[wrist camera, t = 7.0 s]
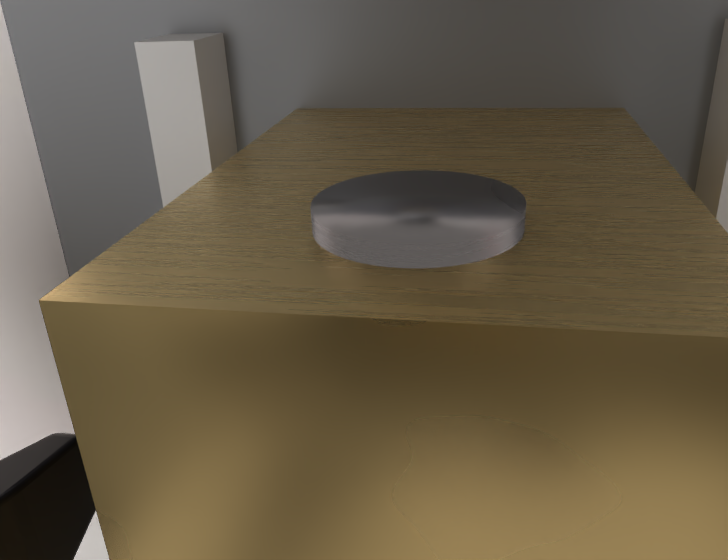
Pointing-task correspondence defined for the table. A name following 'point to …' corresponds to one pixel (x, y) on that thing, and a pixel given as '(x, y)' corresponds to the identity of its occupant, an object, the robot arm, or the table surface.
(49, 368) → the table surface
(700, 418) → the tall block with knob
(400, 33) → the shaft rig
